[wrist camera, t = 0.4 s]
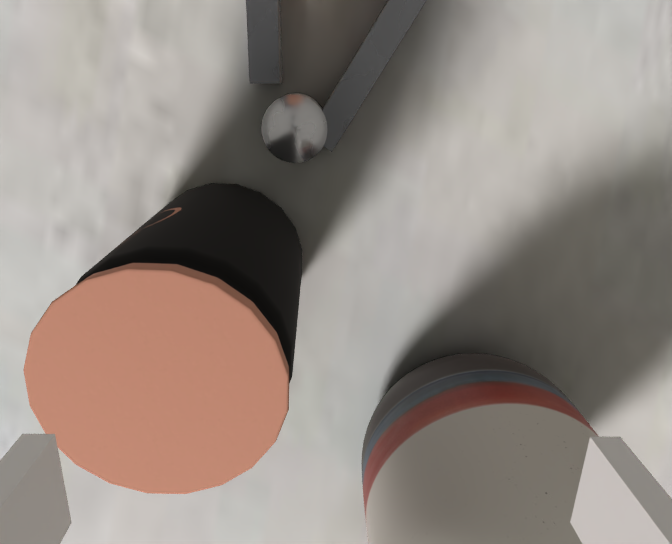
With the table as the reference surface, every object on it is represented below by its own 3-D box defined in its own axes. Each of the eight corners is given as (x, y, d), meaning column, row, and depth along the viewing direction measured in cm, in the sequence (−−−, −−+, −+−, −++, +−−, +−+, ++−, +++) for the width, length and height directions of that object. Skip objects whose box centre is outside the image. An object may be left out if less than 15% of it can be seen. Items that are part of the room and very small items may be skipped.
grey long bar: (434, -179, 30) (446, -208, 27) (500, -123, 31) (520, -145, 28) (255, 134, 35) (249, 139, 32) (316, 173, 36) (316, 182, 33)
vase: (528, 301, 40) (783, 575, 18) (582, 466, 46) (828, 831, 24) (324, 380, 42) (328, 717, 20) (399, 530, 48) (468, 923, 26)
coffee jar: (192, 150, 36) (78, 216, 19) (330, 225, 38) (338, 345, 21) (131, 280, 39) (-14, 436, 22) (262, 342, 41) (221, 529, 24)
